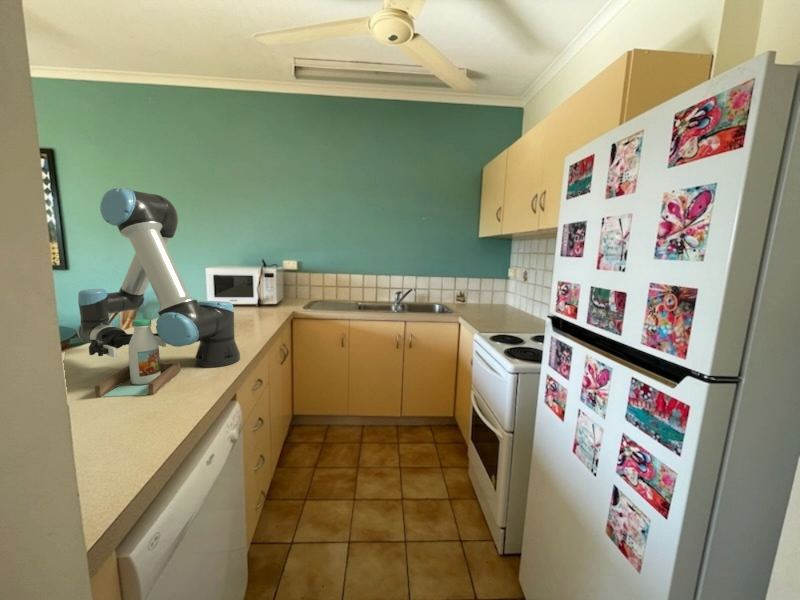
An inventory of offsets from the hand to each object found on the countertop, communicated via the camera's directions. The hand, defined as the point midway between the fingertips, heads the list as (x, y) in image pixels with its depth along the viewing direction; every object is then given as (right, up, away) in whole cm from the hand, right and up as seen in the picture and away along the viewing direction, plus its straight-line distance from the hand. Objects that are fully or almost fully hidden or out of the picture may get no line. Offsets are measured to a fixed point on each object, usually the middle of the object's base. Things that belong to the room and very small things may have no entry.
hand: (141, 347), depth 106 cm
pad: (+2, -12, -6) cm, 14 cm away
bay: (+1, -11, -1) cm, 11 cm away
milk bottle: (0, -11, +2) cm, 11 cm away
